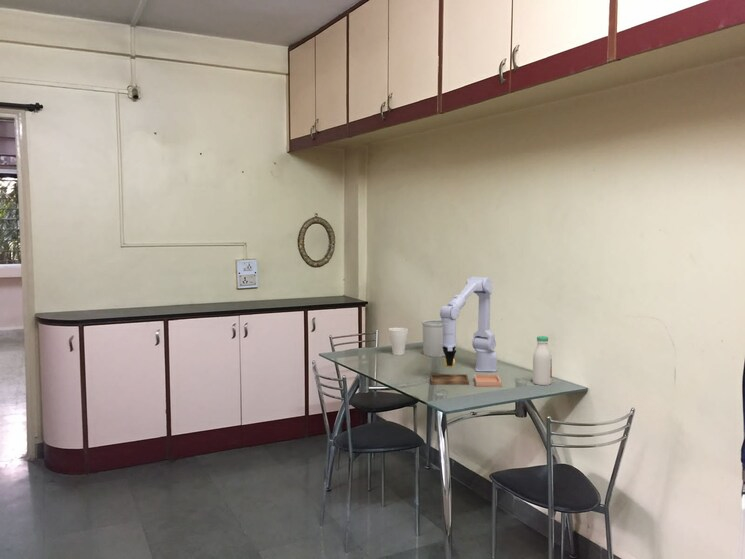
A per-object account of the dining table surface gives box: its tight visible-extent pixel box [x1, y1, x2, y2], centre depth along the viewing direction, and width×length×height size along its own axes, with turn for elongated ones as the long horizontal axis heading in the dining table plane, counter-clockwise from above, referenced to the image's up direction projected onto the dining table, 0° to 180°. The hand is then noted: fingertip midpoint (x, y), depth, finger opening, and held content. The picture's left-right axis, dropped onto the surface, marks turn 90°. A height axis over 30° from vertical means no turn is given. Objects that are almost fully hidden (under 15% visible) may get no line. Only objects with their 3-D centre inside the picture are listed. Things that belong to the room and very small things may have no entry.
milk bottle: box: [532, 335, 553, 386], centre depth 262 cm, size 8×8×20 cm
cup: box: [387, 327, 409, 356], centre depth 326 cm, size 10×10×14 cm
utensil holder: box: [421, 318, 445, 358], centre depth 324 cm, size 15×15×18 cm
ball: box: [443, 357, 456, 368], centre depth 268 cm, size 5×5×5 cm
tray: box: [430, 373, 470, 386], centre depth 269 cm, size 16×12×2 cm
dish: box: [473, 374, 503, 388], centre depth 264 cm, size 10×12×2 cm
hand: (449, 364), depth 268 cm, fingers closed on ball, 5 cm apart
